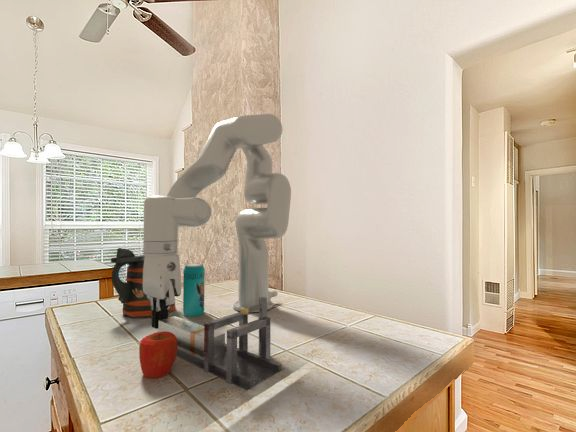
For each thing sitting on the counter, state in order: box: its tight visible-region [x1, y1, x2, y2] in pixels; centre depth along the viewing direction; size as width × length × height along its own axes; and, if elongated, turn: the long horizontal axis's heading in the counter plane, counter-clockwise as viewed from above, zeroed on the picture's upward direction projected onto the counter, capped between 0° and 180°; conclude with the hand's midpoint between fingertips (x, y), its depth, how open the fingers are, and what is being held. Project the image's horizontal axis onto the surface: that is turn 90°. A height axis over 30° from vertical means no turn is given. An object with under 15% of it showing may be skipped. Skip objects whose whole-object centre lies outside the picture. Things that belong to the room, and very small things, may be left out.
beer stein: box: [110, 247, 176, 319], centre depth 91 cm, size 19×15×20 cm
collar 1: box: [203, 311, 249, 373], centre depth 57 cm, size 9×1×9 cm, turn 142°
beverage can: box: [182, 262, 205, 318], centre depth 87 cm, size 6×6×15 cm
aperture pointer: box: [240, 297, 268, 356], centre depth 58 cm, size 6×2×12 cm, turn 142°
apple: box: [138, 331, 177, 380], centre depth 53 cm, size 6×6×8 cm
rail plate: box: [176, 342, 285, 391], centre depth 60 cm, size 9×32×2 cm, turn 52°
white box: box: [157, 315, 226, 358], centre depth 64 cm, size 18×4×4 cm, turn 52°
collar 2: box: [225, 316, 271, 385], centre depth 53 cm, size 9×1×9 cm, turn 142°
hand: (159, 326), depth 72 cm, fingers closed
